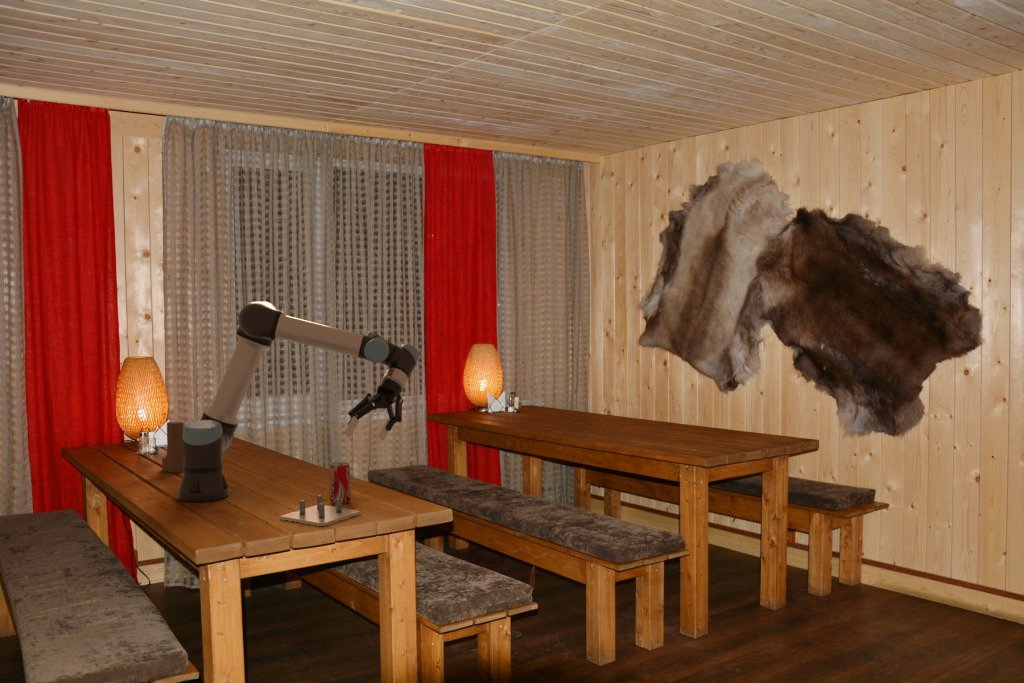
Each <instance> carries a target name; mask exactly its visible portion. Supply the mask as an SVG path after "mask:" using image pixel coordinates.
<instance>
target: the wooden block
mask: <svg viewBox="0 0 1024 683" xmlns="http://www.w3.org/2000/svg"><path fill="white" fill-rule="evenodd" d="M184 426H185V424H184V422H182V421H179V420H176V421H168V422H166V443H167V445H166V446H167V447H166V449H167V450H166V456H165V457H162V459H161V462H162V463H161V464H162V467H161V468H162V469H161V470H163V471H164V472H169V473H171V474H177V472H179V473H184V466H183V439H182V434H183V428H184Z"/></svg>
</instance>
